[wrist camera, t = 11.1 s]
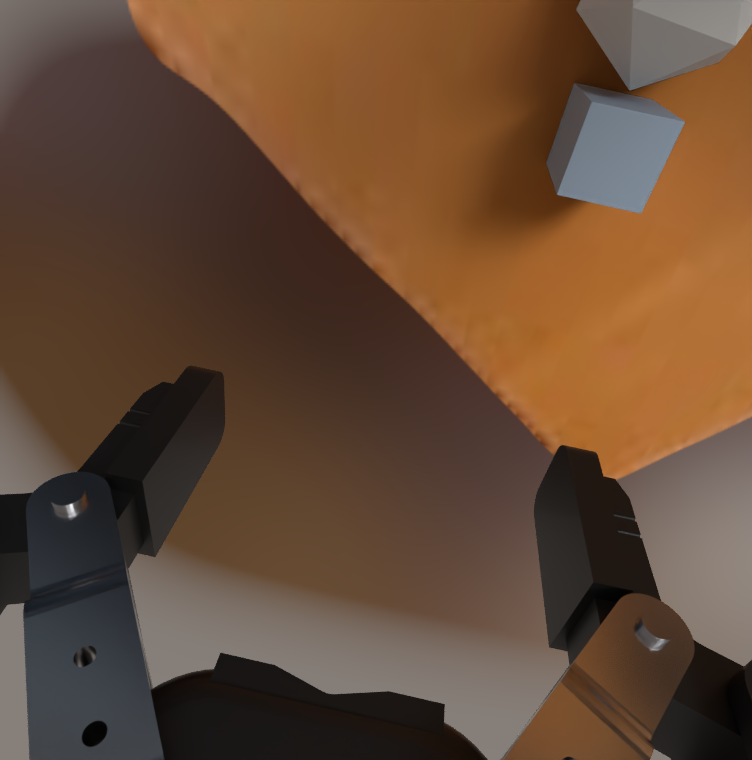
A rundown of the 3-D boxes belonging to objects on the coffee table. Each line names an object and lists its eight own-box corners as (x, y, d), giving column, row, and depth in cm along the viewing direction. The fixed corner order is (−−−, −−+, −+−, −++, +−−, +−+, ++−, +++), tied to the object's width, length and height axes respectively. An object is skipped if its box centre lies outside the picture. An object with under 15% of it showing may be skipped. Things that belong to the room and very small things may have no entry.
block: (574, 82, 34) (591, 101, 28) (652, 99, 34) (685, 122, 28) (546, 163, 37) (557, 194, 31) (617, 179, 37) (641, 213, 31)
